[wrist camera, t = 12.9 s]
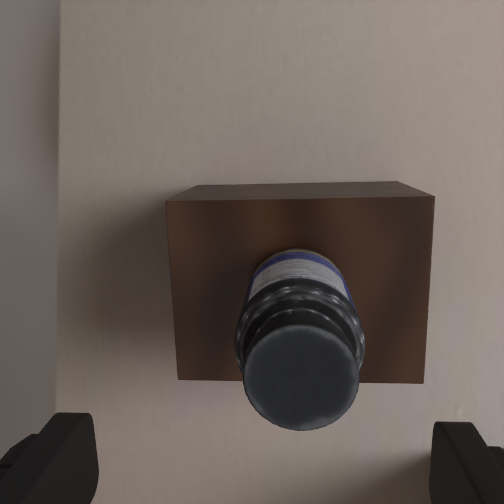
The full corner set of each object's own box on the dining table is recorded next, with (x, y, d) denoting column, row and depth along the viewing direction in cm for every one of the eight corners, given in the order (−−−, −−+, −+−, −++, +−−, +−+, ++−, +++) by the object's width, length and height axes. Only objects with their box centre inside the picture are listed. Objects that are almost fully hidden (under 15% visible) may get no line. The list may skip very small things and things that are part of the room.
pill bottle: (323, 352, 30) (340, 469, 20) (234, 318, 30) (202, 416, 20) (362, 266, 29) (404, 342, 18) (269, 230, 29) (255, 284, 18)
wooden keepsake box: (204, 323, 41) (177, 380, 32) (196, 185, 39) (164, 201, 29) (392, 324, 40) (423, 384, 30) (398, 181, 37) (435, 196, 27)
